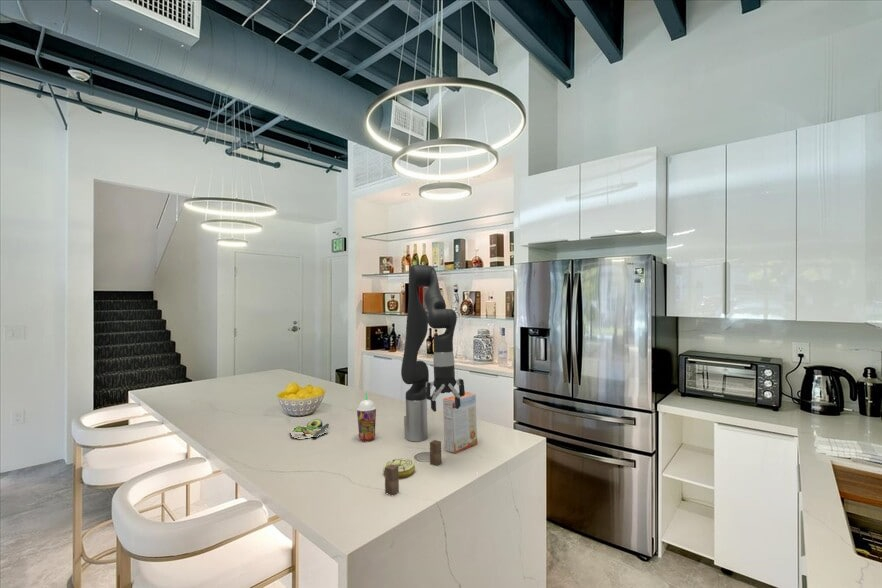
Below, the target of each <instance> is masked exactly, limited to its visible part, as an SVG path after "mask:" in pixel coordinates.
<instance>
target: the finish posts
mask: <svg viewBox="0 0 882 588" xmlns="http://www.w3.org/2000/svg"><path fill="white" fill-rule="evenodd" d="M442 463H443V462H442V441H441V440H436V439H433V440H431V441H430V442H429V465H431V466H435V467H438V466H440V465H441V464H442ZM399 480H400V478H399V474H398V466H396V465H392V464H390V465H389V466H387V467H385V474H384V493H385V494H386V493H388V494H387V495H389V494H390V495H389V496H392V495H393V496H395V495H396V494H397V492H398V493H399V492H400V490H399V489H400V484H399ZM394 494H395V495H394Z"/></svg>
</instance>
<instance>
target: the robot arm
mask: <svg viewBox="0 0 882 588" xmlns="http://www.w3.org/2000/svg"><path fill="white" fill-rule="evenodd" d="M418 287H425V288H428V289H427V290H426V291H425V293H424V303H425V305H426V309H427V310H426V309H425V307H424V305H423V303H422V302H421V300H420V297H419V293H418ZM426 311H428V312H426ZM427 313H428V314H427ZM457 322H458V317H457V313H456V311H455V310H454V309H452V308H447V304H446V301H445V299H444V297H443V295H442V293H441V288H440V284H439V279H438V275H437V272H436V268H435V267H434V266H433V265H427V264H425V265H424V264H411V266H410V268H409V271H408V303H407V314H406V327H405V341H404V350H403V357H402V363H401V368H400V369H401V371H400V375H401V380H402V381H403V383H405V384H406V385H411V387H409V389H407V391H406V392H405V415H404V418H403V425H404V426H403V427H404V428H403V429H404V430H403V432H404V433H403V434H404V439H406V441H410V442H422V441H426V440H427V439H428V402H427V401H430V409H431V411H432V412H437V400H436V399H437V398H438V396H440V394H447V393H449V394H450V393H452V395H453V396H455V408H456V409H459V407H460V397H462V396H464V395H465V392H466V391H465V383H464V382H465V381H464V379H462V378H458V379H456V374H455V373H456V372H455V371H456V369H455V368H456V367H455V363H456V362H455V355H454V343H453V342H454V334H455V329H456V325H457ZM428 327H430V328H431V329H433V330H436V329H437V330H438V329H440V330H441V329H445V331H444V332H443V333H441V334H438V335H435V336H434V337H433V339H432V340H433V358H432V359H433V379H434V380H433V381H429V380H430V375H429V374H430V371H429V367H428V365H427V363H426V362H425V361H423V360H418V355H419V351H420V348H421V347H422V345H423V342H424V341H425V340H426V337H427V334H428V329H429V328H428ZM456 385H457V386H458V389H459V391H457V390H456V388H455V386H456ZM433 386H434V388H435V389H434V390H433V392H432V394H431V389H433Z"/></svg>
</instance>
